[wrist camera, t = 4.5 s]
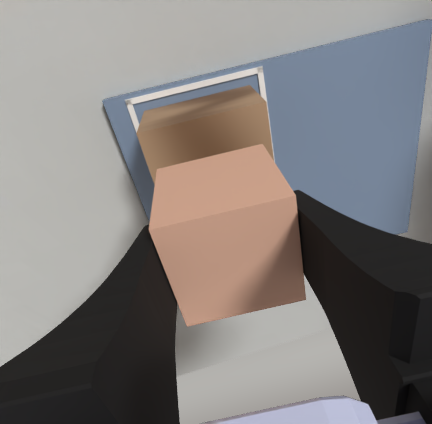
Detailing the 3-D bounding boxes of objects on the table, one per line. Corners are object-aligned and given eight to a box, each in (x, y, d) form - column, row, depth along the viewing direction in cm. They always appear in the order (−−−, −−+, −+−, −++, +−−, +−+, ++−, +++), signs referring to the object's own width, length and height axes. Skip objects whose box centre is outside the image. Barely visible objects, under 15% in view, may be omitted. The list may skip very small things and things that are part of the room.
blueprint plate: (426, 19, 18) (434, 19, 17) (403, 227, 25) (408, 232, 25) (104, 99, 18) (102, 101, 18) (173, 280, 26) (173, 286, 25)
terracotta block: (262, 143, 14) (295, 195, 10) (275, 230, 16) (305, 299, 12) (156, 169, 14) (148, 230, 10) (184, 251, 16) (187, 326, 12)
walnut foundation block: (249, 84, 18) (266, 101, 15) (264, 180, 21) (280, 212, 18) (144, 110, 18) (136, 133, 15) (173, 201, 21) (173, 238, 18)
